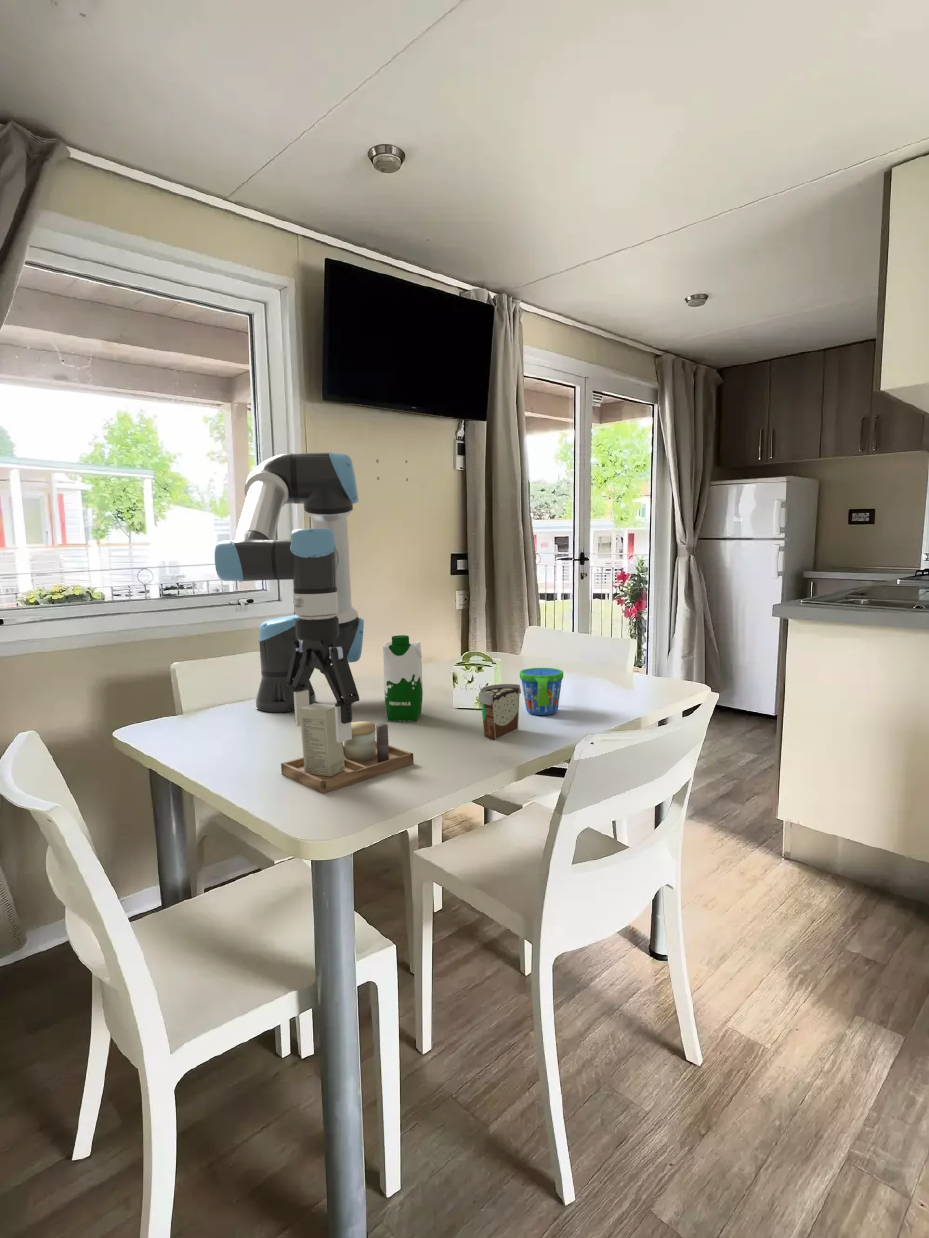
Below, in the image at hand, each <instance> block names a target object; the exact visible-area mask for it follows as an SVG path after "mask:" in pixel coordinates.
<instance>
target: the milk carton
mask: <svg viewBox="0 0 929 1238" xmlns="http://www.w3.org/2000/svg"><path fill="white" fill-rule="evenodd" d="M382 648H383V650H382V651H383V655H382V657H383V682H384V683H383V684H384V685H383V688H384V702H385V703H384V704H385V713H386V720H387V722H417V720H418V719H419V718H420V717H421V714H422V707H423V696H424V695H423V694H424V693H423V665H422V664H423V663H422V662H423V661H422V658H423V655H422V654H423V653H422V649H421V648H422V647H421V641H410V636H409V635H405V634H403V635H402V634H401V635H392V636H391V641H390V642H387V643H386V644H384V645H383V647H382Z"/></svg>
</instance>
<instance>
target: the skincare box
mask: <svg viewBox="0 0 929 1238" xmlns="http://www.w3.org/2000/svg"><path fill="white" fill-rule="evenodd" d="M300 718H301V726H300V728H301V729H300V730H301V741H302V742H301V743H302V756H303V757H304V770H305V772H306V773H308V774H315V775H322V776H329V777H331V776H333V775H335V774H337V773H339V772H341V771H343V770H345V764H344V750H343V746H344V741H343V742H336V721H335V704H330V703H329V704H328V703H317V702H316V703H314V704H311V705H308V706H305V707H302V708H300Z"/></svg>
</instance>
